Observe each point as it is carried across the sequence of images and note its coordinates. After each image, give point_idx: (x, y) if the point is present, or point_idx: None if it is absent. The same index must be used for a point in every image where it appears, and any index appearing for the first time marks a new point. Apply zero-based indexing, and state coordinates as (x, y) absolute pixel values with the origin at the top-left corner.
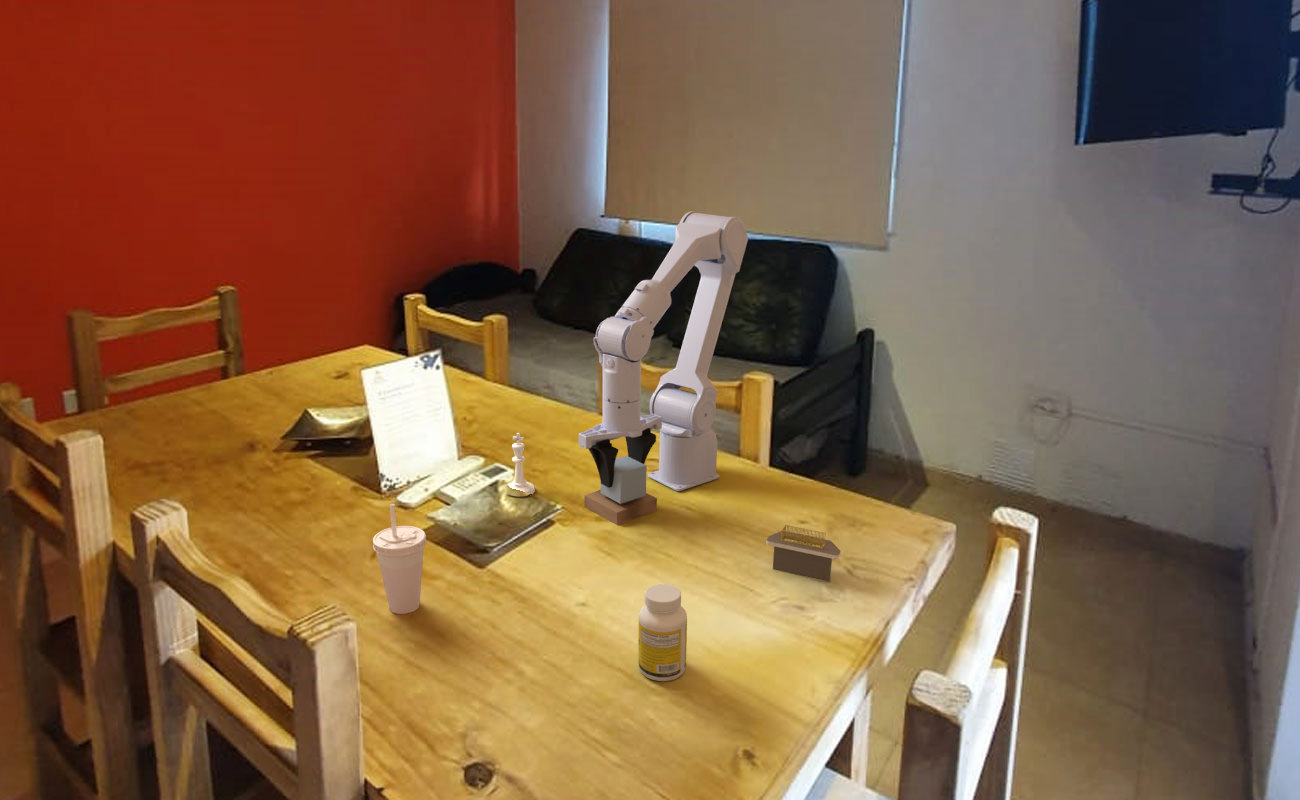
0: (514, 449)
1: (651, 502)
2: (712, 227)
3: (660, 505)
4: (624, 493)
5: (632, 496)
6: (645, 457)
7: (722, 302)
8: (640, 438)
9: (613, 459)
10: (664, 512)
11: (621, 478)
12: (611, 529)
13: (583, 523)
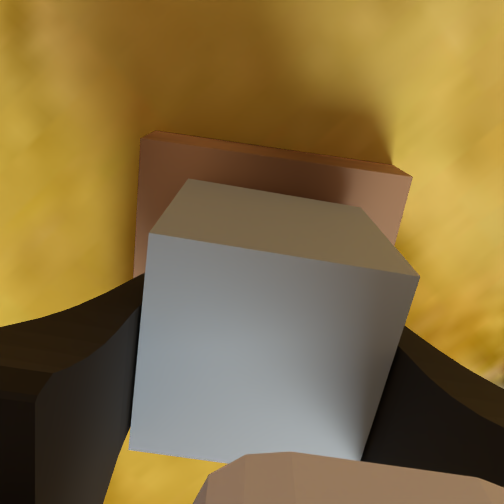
0: None
1: (182, 141)
2: None
3: (103, 154)
4: (344, 217)
5: (283, 198)
6: (81, 311)
7: None
8: (47, 484)
9: (479, 401)
10: (143, 88)
11: (396, 259)
12: (442, 152)
13: (463, 274)
